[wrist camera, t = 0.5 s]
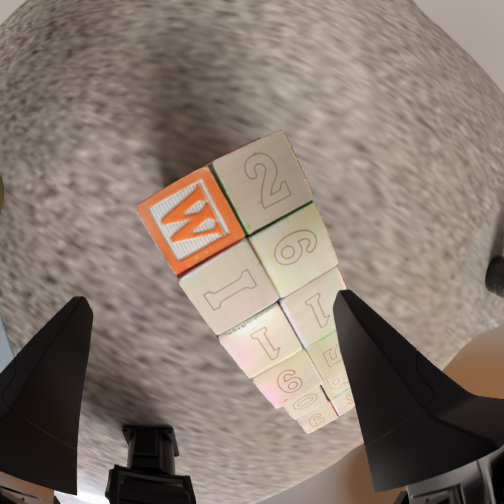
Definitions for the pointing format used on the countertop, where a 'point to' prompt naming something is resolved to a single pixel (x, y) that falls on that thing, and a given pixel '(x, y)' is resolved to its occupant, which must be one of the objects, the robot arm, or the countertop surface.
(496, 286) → the supplement bottle
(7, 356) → the mat
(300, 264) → the stack of blocks
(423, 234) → the countertop surface
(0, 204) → the olive pawn
